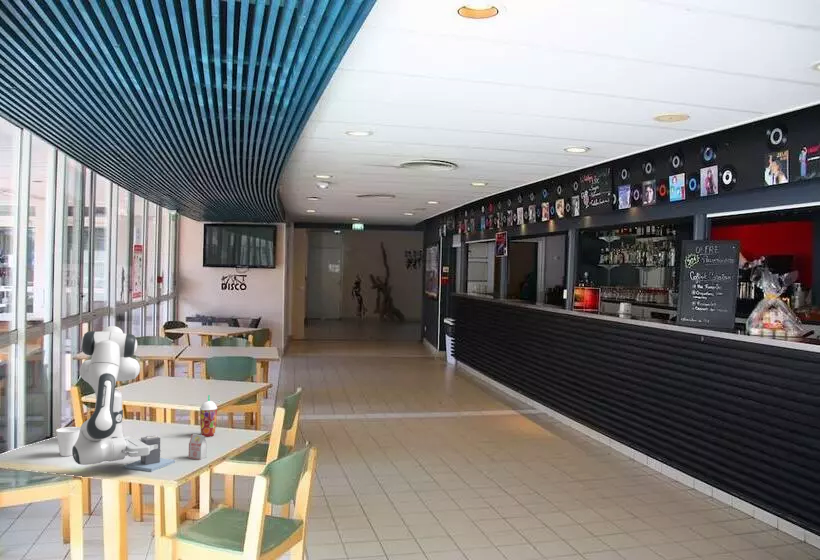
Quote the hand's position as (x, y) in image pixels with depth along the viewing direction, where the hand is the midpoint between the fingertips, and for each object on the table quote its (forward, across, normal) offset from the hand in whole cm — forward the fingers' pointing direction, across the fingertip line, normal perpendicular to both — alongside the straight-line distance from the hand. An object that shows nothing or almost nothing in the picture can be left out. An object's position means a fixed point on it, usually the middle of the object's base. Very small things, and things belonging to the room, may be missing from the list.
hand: (153, 443), depth 262 cm
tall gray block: (-1, 0, +8) cm, 8 cm away
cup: (-23, +36, +9) cm, 44 cm away
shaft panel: (-1, 0, +9) cm, 9 cm away
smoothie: (+39, +34, +9) cm, 53 cm away
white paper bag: (+19, -1, +9) cm, 21 cm away
